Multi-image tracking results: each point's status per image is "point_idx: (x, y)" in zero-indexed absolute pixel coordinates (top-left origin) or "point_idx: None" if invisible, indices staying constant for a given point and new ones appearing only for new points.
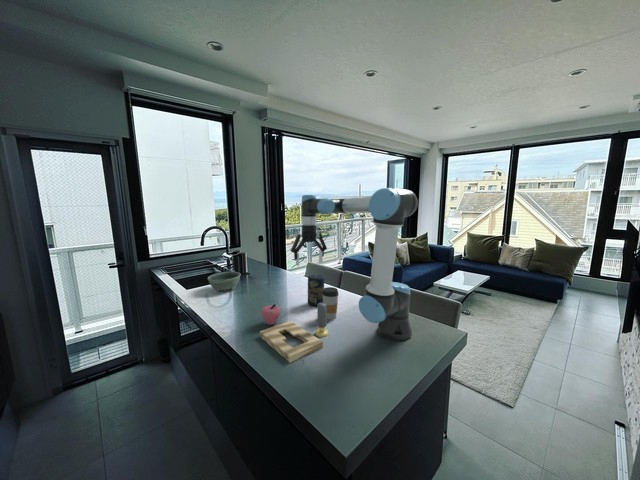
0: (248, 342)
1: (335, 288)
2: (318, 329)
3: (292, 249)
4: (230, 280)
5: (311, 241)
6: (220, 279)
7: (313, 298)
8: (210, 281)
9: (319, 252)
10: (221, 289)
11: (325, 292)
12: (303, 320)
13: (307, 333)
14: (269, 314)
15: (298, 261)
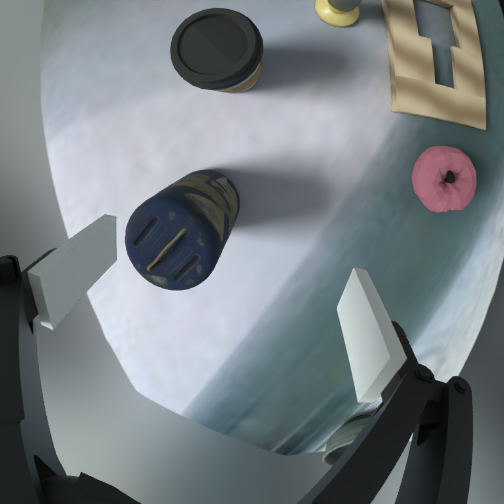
0: (499, 129)
1: (175, 44)
2: (339, 21)
3: (464, 413)
4: None
5: (104, 495)
6: None
7: (227, 190)
8: None
9: (61, 306)
10: None
11: (256, 36)
12: (334, 112)
13: (396, 14)
14: (466, 155)
15: (369, 292)
